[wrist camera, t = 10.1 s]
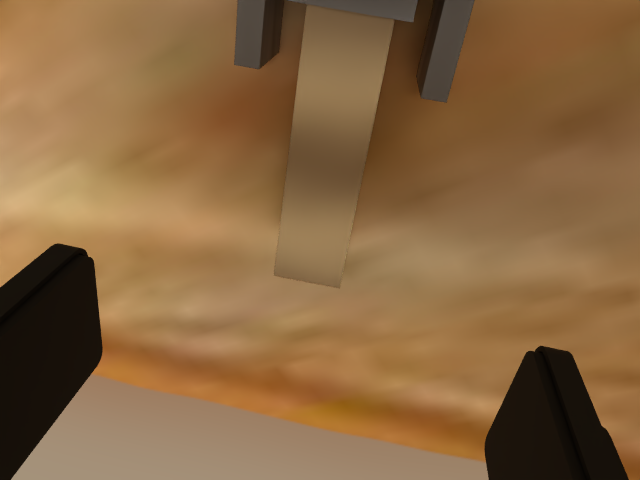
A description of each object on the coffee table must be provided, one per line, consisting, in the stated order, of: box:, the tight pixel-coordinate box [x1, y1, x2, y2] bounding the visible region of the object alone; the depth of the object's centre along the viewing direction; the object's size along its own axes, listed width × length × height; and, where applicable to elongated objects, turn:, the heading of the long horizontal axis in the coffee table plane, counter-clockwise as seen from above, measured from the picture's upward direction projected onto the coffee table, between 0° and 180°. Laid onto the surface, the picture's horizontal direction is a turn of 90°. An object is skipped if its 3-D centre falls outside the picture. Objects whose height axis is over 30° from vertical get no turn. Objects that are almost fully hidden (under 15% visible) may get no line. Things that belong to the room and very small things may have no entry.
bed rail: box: [274, 0, 418, 288], centre depth 22 cm, size 13×4×5 cm, turn 172°
